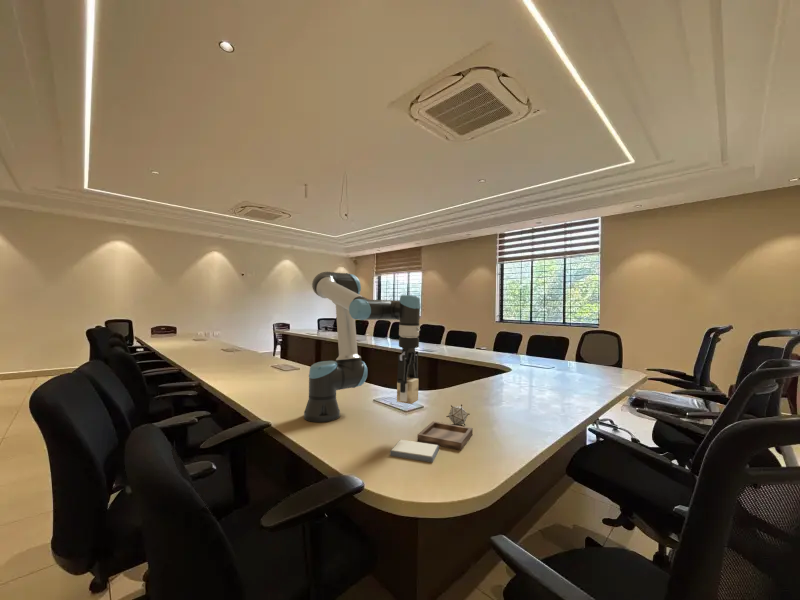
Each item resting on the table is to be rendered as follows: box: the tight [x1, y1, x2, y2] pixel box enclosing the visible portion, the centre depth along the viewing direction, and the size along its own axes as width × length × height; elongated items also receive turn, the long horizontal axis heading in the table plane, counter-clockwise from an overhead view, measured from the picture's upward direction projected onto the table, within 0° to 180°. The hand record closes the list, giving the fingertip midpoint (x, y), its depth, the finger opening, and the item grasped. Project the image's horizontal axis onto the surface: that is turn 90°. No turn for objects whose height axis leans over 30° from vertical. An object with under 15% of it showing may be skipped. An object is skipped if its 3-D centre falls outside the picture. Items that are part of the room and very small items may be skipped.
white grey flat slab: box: [389, 439, 440, 463], centre depth 111 cm, size 14×10×2 cm
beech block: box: [396, 376, 419, 405], centre depth 125 cm, size 6×6×8 cm
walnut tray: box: [416, 420, 474, 451], centre depth 124 cm, size 16×16×2 cm
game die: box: [446, 404, 471, 426], centre depth 138 cm, size 9×8×10 cm
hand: (407, 398), depth 125 cm, fingers closed on beech block, 6 cm apart
